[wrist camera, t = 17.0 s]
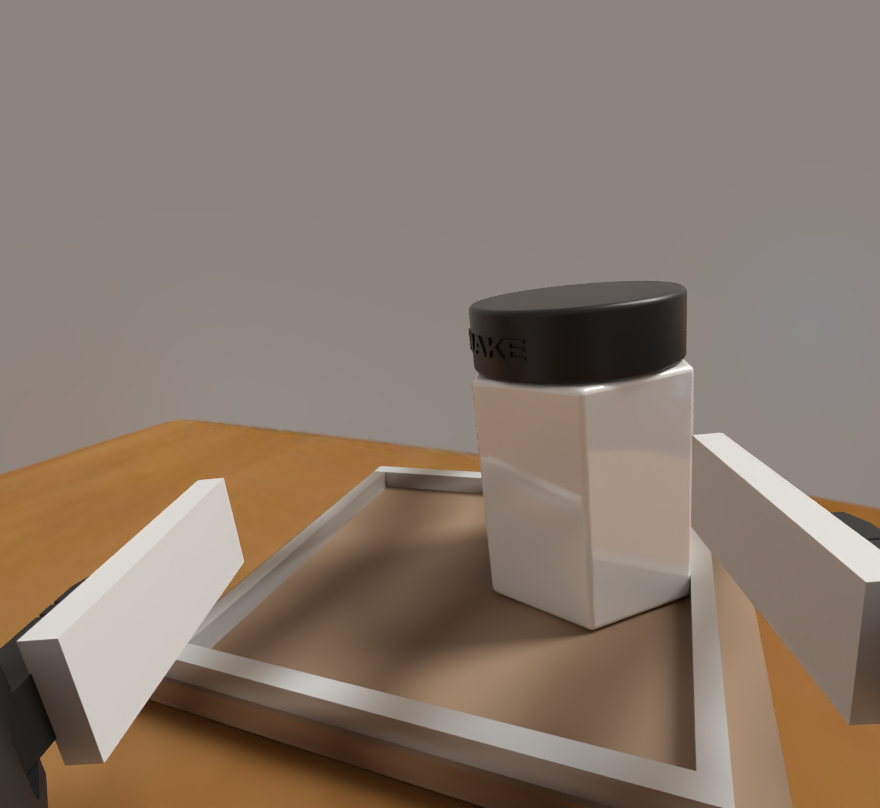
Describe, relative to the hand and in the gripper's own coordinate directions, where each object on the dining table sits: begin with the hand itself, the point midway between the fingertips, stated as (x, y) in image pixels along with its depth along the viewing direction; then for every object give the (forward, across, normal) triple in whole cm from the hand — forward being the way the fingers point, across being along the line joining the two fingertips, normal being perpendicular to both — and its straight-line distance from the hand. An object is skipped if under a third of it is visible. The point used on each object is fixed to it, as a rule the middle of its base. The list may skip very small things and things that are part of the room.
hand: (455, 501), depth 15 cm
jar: (+8, +5, -8) cm, 12 cm away
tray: (+8, 0, -9) cm, 11 cm away
